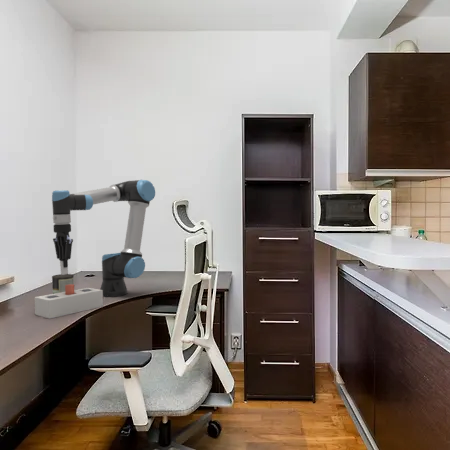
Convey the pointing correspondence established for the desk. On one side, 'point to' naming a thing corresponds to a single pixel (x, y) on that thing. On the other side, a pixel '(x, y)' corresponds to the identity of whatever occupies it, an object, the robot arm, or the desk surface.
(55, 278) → the coffee can
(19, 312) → the desk surface
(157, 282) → the desk surface
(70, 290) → the red plug
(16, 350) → the desk surface
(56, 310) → the panel
